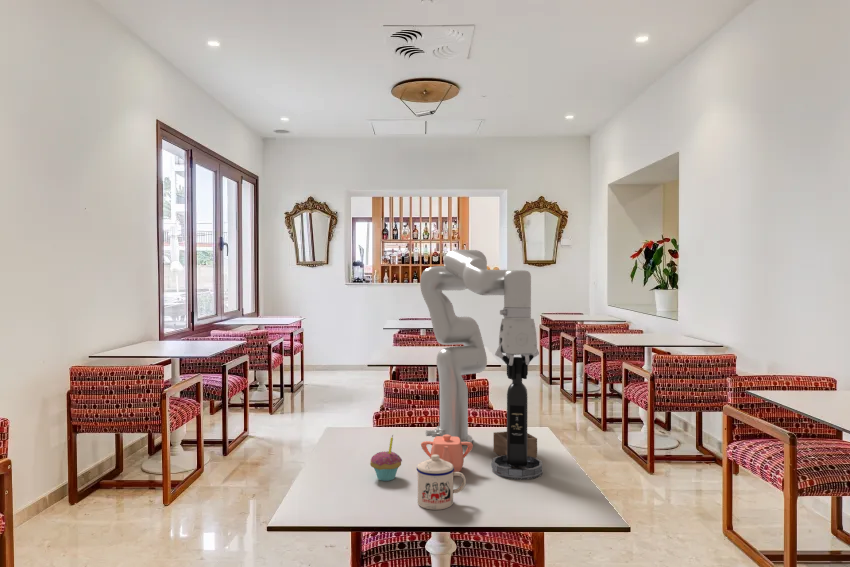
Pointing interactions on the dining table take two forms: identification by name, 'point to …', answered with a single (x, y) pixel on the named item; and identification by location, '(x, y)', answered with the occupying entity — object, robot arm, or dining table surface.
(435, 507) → the teacup with lid
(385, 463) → the cupcake
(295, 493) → the dining table surface
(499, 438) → the open square wooden box
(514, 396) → the wine bottle
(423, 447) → the teapot
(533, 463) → the serving bowl
